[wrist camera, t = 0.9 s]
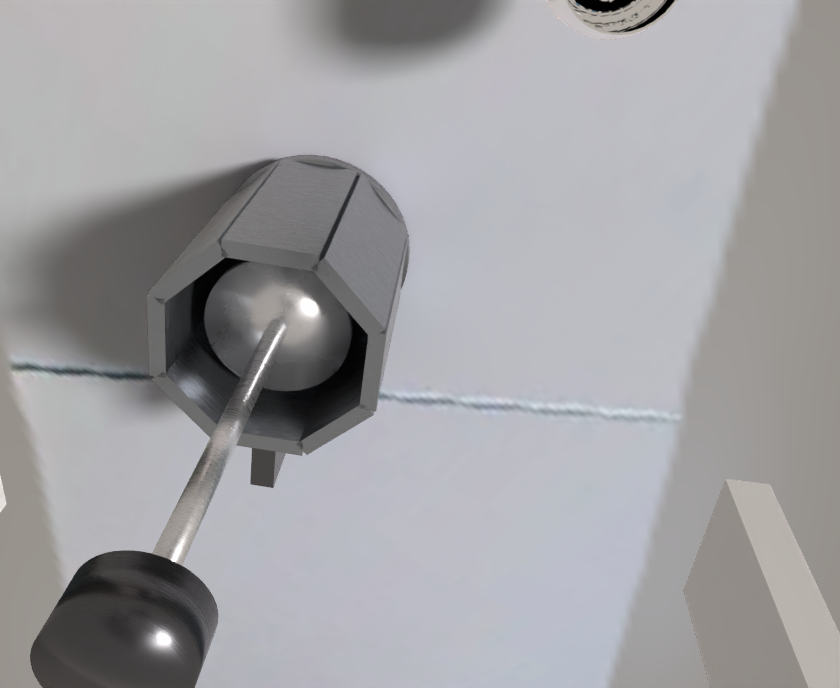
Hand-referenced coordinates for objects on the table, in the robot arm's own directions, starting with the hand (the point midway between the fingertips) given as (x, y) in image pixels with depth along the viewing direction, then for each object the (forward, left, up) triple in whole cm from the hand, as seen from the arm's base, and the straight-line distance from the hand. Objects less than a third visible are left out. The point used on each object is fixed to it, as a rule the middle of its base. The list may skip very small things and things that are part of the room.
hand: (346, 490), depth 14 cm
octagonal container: (+11, -6, -33) cm, 35 cm away
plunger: (+10, -6, -23) cm, 26 cm away
